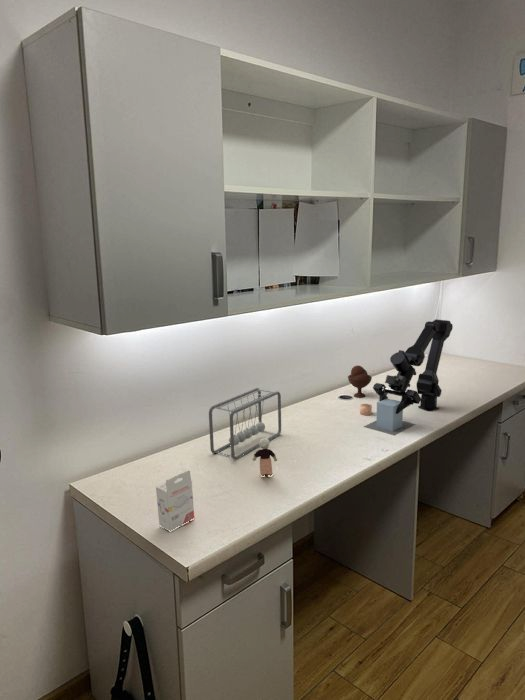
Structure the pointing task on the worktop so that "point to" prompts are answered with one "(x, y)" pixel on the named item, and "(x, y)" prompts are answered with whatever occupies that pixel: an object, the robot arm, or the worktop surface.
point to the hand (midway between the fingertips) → (387, 411)
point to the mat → (373, 426)
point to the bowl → (365, 409)
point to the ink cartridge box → (175, 501)
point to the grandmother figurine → (265, 457)
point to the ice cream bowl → (359, 379)
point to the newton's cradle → (246, 432)
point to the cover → (389, 415)
